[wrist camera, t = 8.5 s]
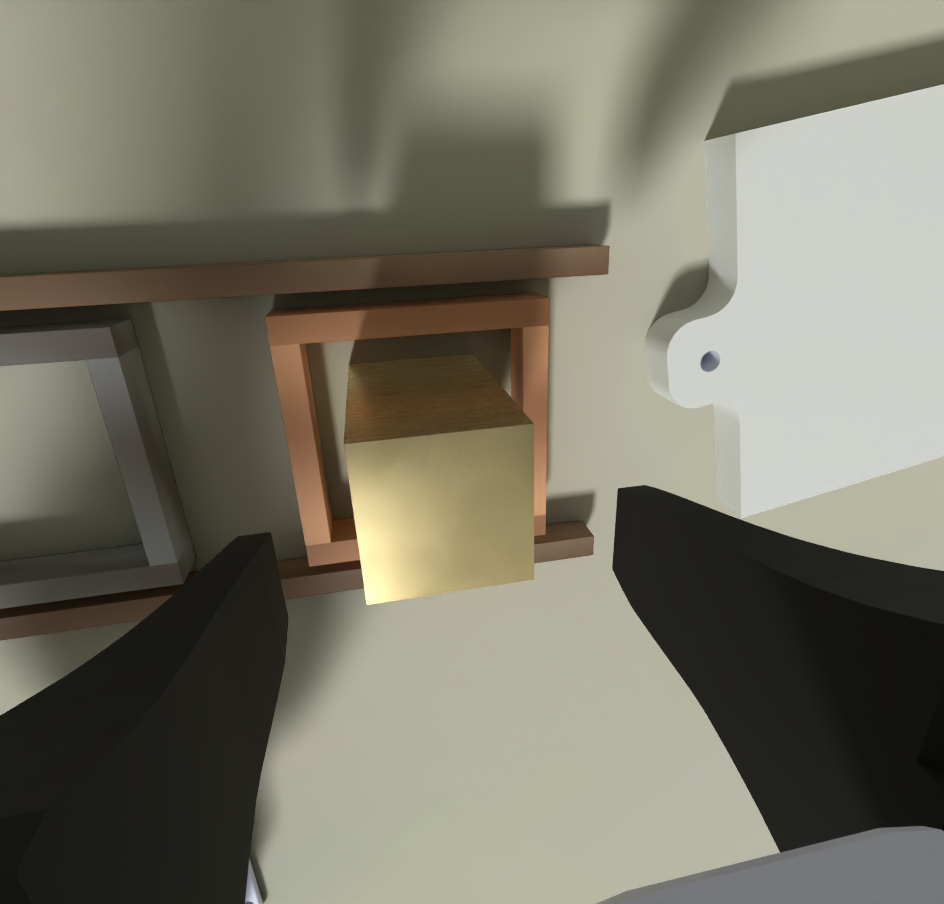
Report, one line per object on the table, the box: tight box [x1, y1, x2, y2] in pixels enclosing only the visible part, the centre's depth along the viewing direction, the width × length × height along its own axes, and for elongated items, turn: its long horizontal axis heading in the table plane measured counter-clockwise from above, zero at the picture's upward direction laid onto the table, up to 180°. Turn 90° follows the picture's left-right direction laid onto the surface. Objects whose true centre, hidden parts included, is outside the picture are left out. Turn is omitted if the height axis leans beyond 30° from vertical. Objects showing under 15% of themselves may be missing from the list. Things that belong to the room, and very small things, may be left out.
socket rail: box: [0, 245, 609, 640], centre depth 17 cm, size 11×24×2 cm, turn 92°
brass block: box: [344, 354, 534, 605], centre depth 15 cm, size 4×4×7 cm
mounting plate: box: [644, 84, 944, 518], centre depth 20 cm, size 18×13×2 cm
